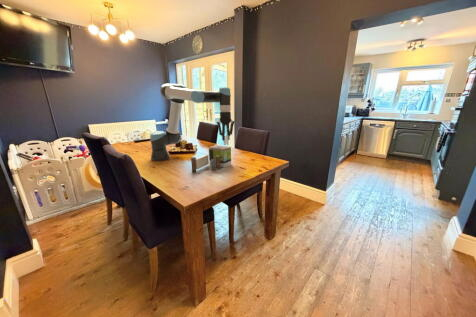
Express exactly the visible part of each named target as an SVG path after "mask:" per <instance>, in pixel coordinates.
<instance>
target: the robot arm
mask: <svg viewBox="0 0 476 317" xmlns="http://www.w3.org/2000/svg"><path fill="white" fill-rule="evenodd" d="M160 94H161V96H162V98H164V99H166V100H169V101H170V110H169V117H168V123H167V124H168V125H167V127H166V128H165V131H164V130H159V131H155V132H151V133H150V136H149V140H150V144H151V145H150V146H151V154H150V160H151V161H155V162H160V161H161V162H162V161H166V160H168V159H170V154H169V152H168V150H167V146H170V145H171V146H172V145H176V144H178V143H180V141H181V140H182V135H181V132H180V130H179V124H180V119H181V118H180V117H181V113H182V108H183V104H185V101H191V102H193V103H195V104H201V103H202V104H204V103H205V104H206V103H213V104H214V103H219V111H220V112H219V120H218V121H215V122H216V125H217V128H218V133H219V135H220V136H221V137H222V138H221V139H222V141H223V146H229V145H230V144H229V141H230V139H231V138H230V136H232V135H233V130H234V124H235V123H236V122H235V120H233V119H232V115H231V114H232V113H231V110H232V108H231V96H232V95H231V88H230V87H220V88H219V89H218V91H217V90H216V91H215V90H197V89H190V88H187V87H186V86H185V85H184V84H180V83H164V84H162V85H161V87H160Z"/></svg>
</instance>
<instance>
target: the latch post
mask: <svg viewBox="0 0 476 317" xmlns="http://www.w3.org/2000/svg"><path fill="white" fill-rule="evenodd" d="M215 157H216V170H221V168H222V167H221V165H220V156H219V155H217V156H215Z"/></svg>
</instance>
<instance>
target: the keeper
mask: <svg viewBox="0 0 476 317" xmlns="http://www.w3.org/2000/svg"><path fill="white" fill-rule="evenodd" d="M210 168H211V169H210V170H211V171H217V169H216V160H215V159H214V160H211V165H210Z"/></svg>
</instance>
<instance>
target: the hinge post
mask: <svg viewBox="0 0 476 317" xmlns="http://www.w3.org/2000/svg"><path fill="white" fill-rule="evenodd" d="M196 158H197V157H195V156H192V157H190V161H191V162H190V163H191V173H192V174H195V173H197V169H196Z"/></svg>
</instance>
